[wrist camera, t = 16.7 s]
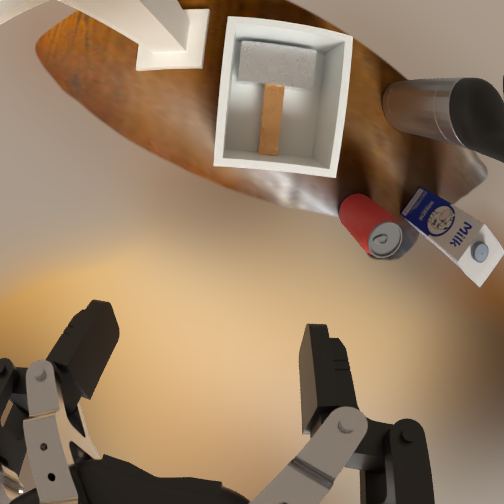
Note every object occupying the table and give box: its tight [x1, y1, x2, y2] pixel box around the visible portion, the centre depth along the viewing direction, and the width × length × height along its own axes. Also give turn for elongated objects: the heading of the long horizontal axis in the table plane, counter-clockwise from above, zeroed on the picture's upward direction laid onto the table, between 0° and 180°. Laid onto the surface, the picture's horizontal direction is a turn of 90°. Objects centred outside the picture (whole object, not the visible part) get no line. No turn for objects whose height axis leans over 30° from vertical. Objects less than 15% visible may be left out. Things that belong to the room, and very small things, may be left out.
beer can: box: [339, 193, 402, 258], centre depth 41 cm, size 7×7×12 cm
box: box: [214, 16, 353, 178], centre depth 33 cm, size 15×19×10 cm
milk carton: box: [400, 187, 504, 287], centre depth 38 cm, size 7×7×20 cm
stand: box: [0, 0, 210, 71], centre depth 18 cm, size 12×10×32 cm
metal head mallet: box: [238, 41, 317, 156], centre depth 35 cm, size 10×16×4 cm, turn 175°
